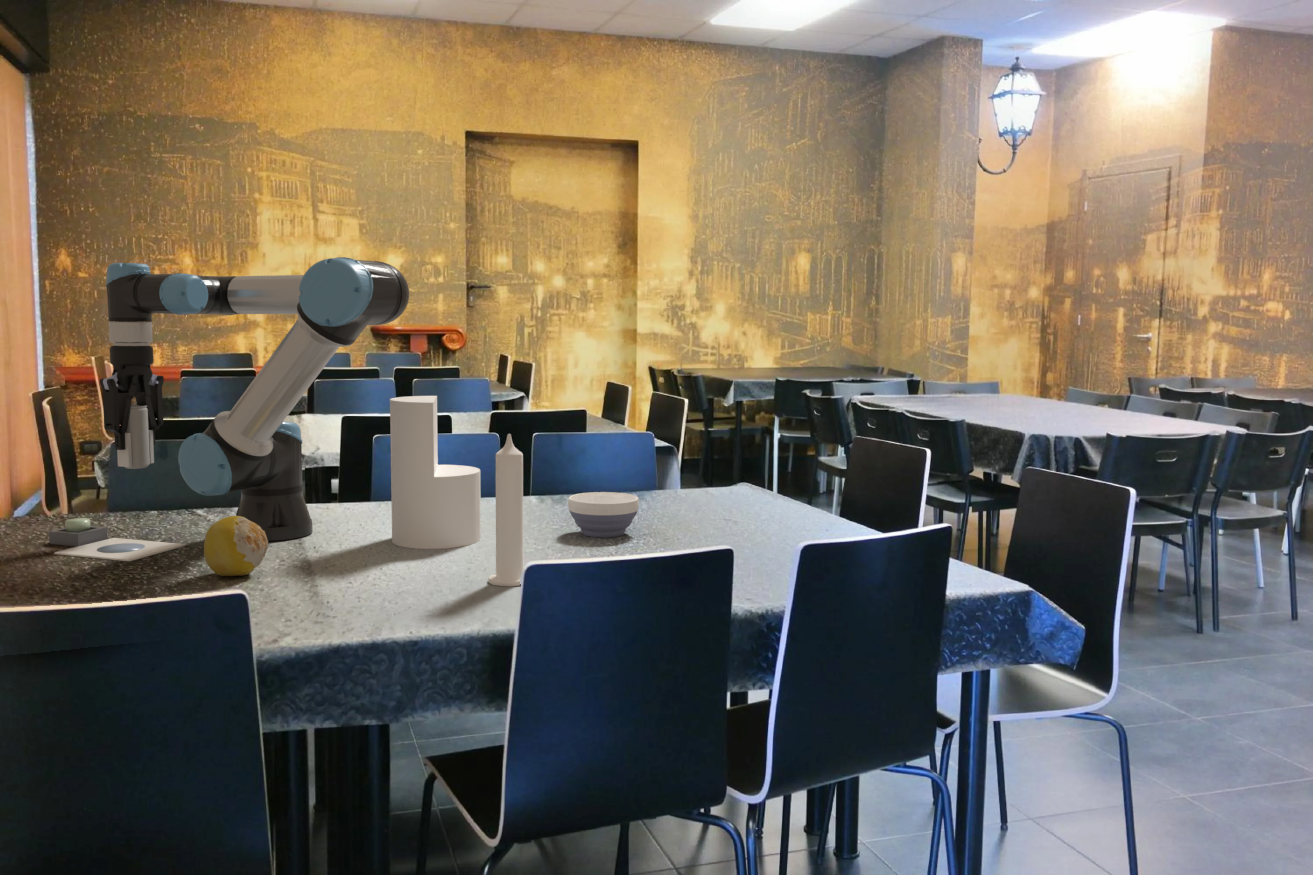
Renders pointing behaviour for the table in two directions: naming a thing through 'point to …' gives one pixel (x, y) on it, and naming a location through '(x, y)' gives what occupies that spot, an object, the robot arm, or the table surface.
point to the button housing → (77, 536)
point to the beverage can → (139, 436)
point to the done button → (77, 525)
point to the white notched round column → (429, 482)
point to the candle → (509, 516)
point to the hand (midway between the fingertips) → (136, 464)
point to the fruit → (234, 546)
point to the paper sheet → (120, 549)
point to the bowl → (603, 512)
